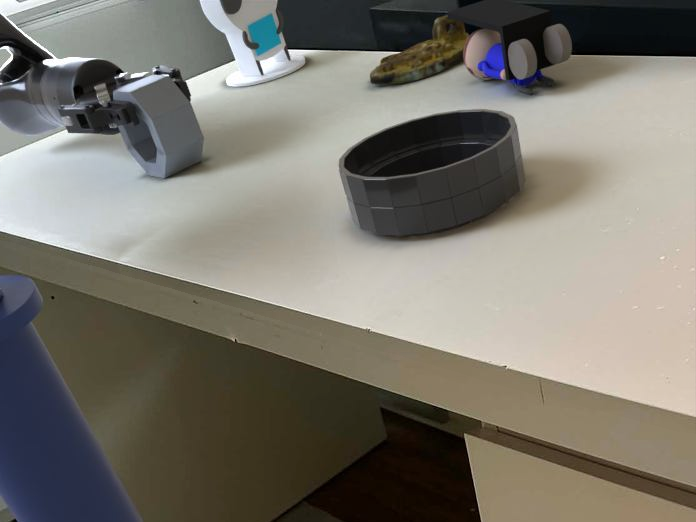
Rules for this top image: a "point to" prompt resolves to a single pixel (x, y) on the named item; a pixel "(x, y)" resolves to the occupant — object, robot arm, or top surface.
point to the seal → (424, 55)
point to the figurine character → (512, 42)
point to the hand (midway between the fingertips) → (159, 102)
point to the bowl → (433, 172)
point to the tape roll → (161, 126)
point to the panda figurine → (253, 39)
